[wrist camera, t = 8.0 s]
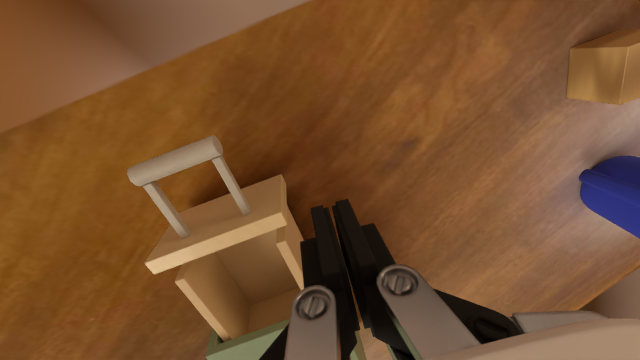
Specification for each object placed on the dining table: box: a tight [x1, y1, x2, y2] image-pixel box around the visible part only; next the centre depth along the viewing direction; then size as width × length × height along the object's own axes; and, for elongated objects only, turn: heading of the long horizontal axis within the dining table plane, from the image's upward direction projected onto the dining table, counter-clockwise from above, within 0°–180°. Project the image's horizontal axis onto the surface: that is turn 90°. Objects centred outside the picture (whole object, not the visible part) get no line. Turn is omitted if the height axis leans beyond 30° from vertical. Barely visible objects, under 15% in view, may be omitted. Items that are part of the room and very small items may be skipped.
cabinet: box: [205, 318, 366, 360], centre depth 29 cm, size 15×12×9 cm
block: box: [567, 28, 640, 105], centre depth 23 cm, size 5×5×5 cm
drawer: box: [127, 135, 304, 342], centre depth 23 cm, size 20×10×7 cm, turn 19°
